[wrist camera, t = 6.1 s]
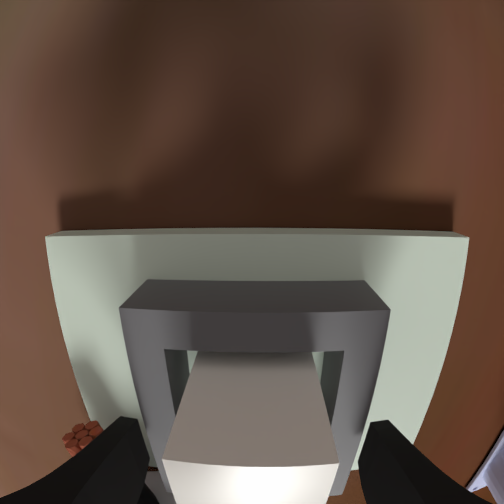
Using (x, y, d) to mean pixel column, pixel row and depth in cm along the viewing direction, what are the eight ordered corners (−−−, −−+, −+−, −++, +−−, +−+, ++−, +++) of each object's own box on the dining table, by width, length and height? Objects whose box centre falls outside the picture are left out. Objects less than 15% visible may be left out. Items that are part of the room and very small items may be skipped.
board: (453, 231, 11) (509, 253, 8) (398, 446, 14) (418, 493, 10) (61, 230, 12) (4, 252, 8) (113, 443, 14) (90, 489, 11)
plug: (306, 329, 11) (339, 463, 5) (295, 429, 12) (307, 548, 6) (205, 328, 11) (161, 459, 5) (213, 427, 12) (192, 545, 6)
